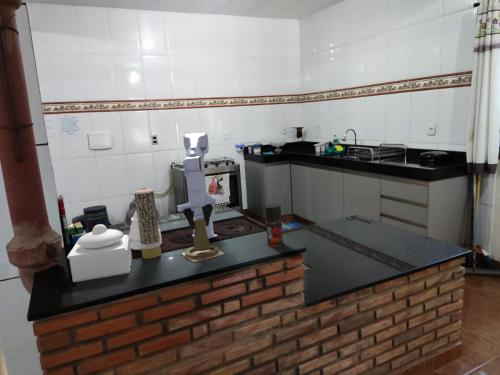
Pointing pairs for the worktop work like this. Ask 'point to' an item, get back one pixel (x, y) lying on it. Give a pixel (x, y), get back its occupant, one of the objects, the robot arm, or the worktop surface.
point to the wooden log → (147, 223)
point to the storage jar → (95, 217)
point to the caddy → (202, 254)
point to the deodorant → (274, 225)
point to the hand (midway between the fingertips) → (199, 227)
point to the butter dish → (100, 254)
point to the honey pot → (137, 233)
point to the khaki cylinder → (200, 235)
